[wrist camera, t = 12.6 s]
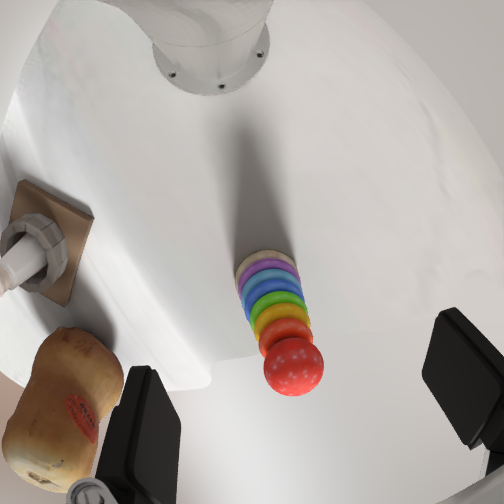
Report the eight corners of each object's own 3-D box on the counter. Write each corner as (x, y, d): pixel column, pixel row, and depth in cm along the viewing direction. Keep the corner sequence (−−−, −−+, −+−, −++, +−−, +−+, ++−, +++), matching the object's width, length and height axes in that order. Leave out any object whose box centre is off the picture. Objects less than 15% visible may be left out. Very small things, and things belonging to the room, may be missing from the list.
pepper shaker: (49, 273, 35) (8, 317, 25) (20, 253, 34) (-25, 291, 24) (60, 241, 34) (14, 281, 24) (29, 220, 32) (-21, 253, 22)
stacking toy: (235, 304, 41) (243, 419, 24) (234, 248, 38) (243, 351, 20) (294, 302, 41) (333, 411, 24) (299, 247, 38) (352, 343, 21)
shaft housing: (24, 179, 32) (3, 187, 27) (94, 218, 35) (77, 231, 30) (7, 264, 36) (-11, 279, 31) (68, 302, 39) (54, 321, 34)
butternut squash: (147, 368, 44) (117, 513, 21) (88, 384, 45) (46, 504, 22) (96, 298, 39) (17, 444, 16) (39, 324, 40) (-35, 441, 17)
